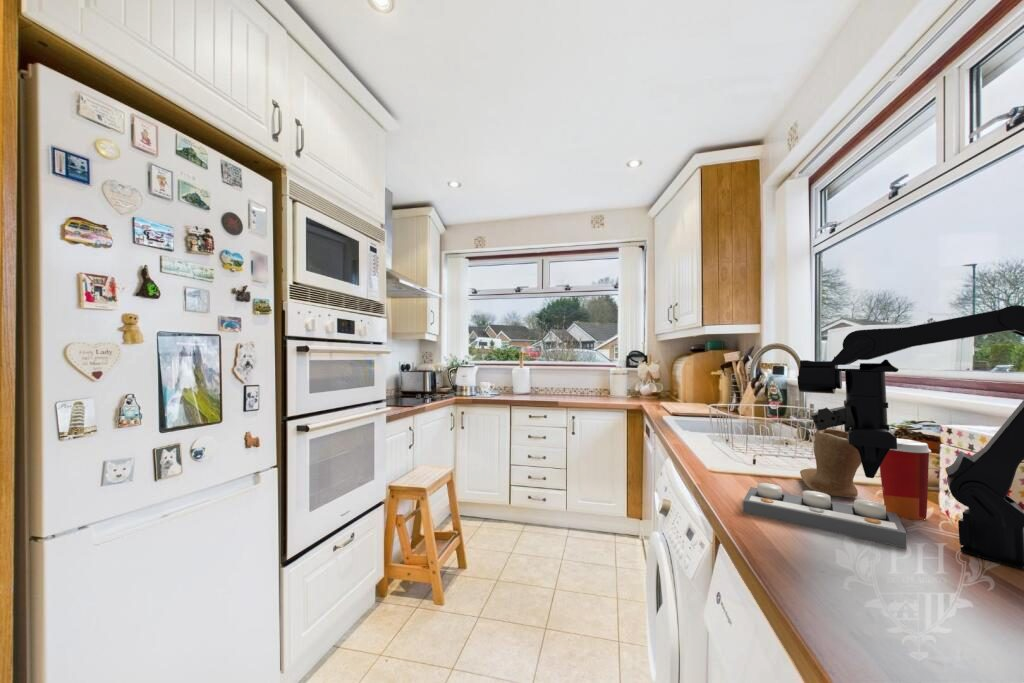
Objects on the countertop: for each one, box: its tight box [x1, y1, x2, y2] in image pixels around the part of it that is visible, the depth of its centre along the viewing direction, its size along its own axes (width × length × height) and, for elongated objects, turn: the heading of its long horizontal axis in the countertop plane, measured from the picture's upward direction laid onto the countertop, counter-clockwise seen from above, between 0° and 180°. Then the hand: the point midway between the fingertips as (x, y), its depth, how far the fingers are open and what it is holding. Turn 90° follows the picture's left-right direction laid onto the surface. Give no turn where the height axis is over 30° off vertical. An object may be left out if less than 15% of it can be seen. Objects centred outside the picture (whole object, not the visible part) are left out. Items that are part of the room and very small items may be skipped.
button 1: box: [756, 482, 783, 499], centre depth 83 cm, size 4×4×2 cm
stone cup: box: [799, 427, 862, 499], centre depth 94 cm, size 15×12×15 cm
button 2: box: [853, 499, 886, 519], centre depth 73 cm, size 4×4×2 cm
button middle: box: [802, 490, 831, 509], centre depth 78 cm, size 4×4×2 cm
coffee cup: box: [879, 437, 932, 521], centre depth 80 cm, size 8×8×15 cm
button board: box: [742, 486, 908, 549], centre depth 77 cm, size 24×11×3 cm, turn 51°
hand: (869, 477), depth 74 cm, fingers closed
